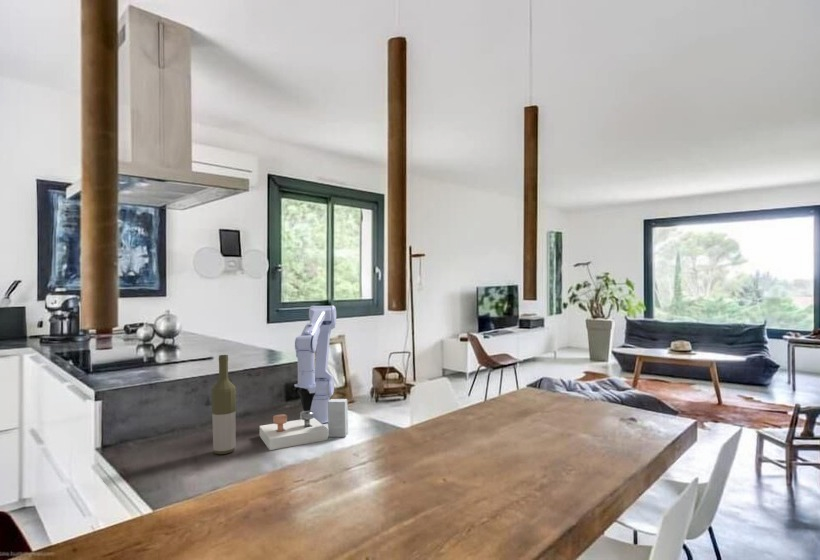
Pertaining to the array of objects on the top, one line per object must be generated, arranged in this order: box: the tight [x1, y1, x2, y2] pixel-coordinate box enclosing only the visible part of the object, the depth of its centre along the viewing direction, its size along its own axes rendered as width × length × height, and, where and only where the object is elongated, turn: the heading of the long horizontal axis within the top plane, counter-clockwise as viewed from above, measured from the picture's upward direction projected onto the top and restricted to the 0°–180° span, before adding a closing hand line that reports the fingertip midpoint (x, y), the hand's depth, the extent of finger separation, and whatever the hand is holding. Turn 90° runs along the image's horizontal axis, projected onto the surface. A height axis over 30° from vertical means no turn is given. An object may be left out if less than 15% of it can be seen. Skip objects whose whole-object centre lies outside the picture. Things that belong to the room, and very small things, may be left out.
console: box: [259, 418, 329, 451], centre depth 156 cm, size 16×19×4 cm
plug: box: [299, 410, 314, 428], centre depth 157 cm, size 4×4×5 cm
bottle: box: [211, 354, 237, 455], centre depth 144 cm, size 7×7×30 cm
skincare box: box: [327, 398, 349, 438], centre depth 158 cm, size 6×4×12 cm
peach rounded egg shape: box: [272, 413, 288, 432], centre depth 153 cm, size 4×4×5 cm
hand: (306, 410), depth 157 cm, fingers closed
